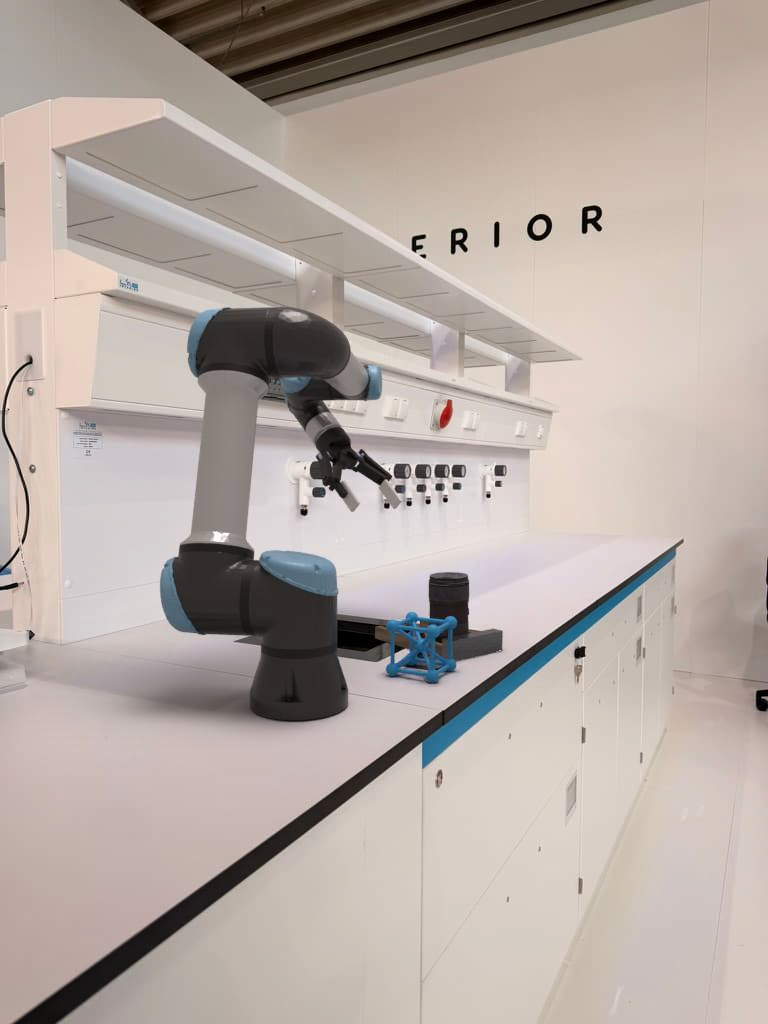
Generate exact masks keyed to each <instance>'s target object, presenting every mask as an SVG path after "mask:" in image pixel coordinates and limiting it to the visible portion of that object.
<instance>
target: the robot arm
mask: <svg viewBox="0 0 768 1024" xmlns="http://www.w3.org/2000/svg"><path fill="white" fill-rule="evenodd" d="M186 353H187V354H188V357H187V363H188V367H189V370H190V372H191V374H192V375H193V376H194V377H195V378H197V384H198V386H199V387H200V388H201V390H202V391H203V392H204V393H205V395H204V396H205V397H204V405H203V406H204V408H203V417H202V427H201V436H200V445H199V454H198V464H197V471H196V472H197V473H196V481H195V490H194V492H195V493H194V500H193V510H192V518H191V519H192V520H191V528H190V534H189V536H187V538H185V539H184V540H183V541H181V542H180V543H179V546H178V547H179V548H178V555H177V556H173V557H171V558H169V559H167V560H166V561H165V563H164V564H163V568H162V569H161V573H160V577H159V580H160V581H159V592H160V593H159V596H160V597H159V598H160V603H161V606H162V607H161V608H162V611H163V613H164V616H165V618H166V620H167V622H168V623H169V624H170V626H171V627H172V628H173V629H175V630H176V631H178V632H180V633H188V634H189V633H190V634H197V635H199V636H206V635H217V636H218V635H219V636H220V635H223V636H248V637H260V657H259V662H258V665H257V668H256V670H255V673H254V676H253V681H252V683H251V687H250V690H249V709H250V710H251V711H252V712H253V713H255V714H257V715H259V716H262V717H265V718H268V719H273V720H281V721H306V720H316V719H322V718H326V717H331V716H334V715H336V714H338V713H341V712H342V711H344V710H345V709H347V707H348V705H349V687H348V684H347V680H346V678H345V675H344V672H343V669H342V665H341V662H340V659H339V657H338V595H339V587H338V579H337V577H338V576H337V575H338V574H337V569H336V566H335V564H334V563H333V562H332V561H331V560H330V559H327V558H326V557H323V556H320V555H317V554H313V553H308V552H302V551H294V550H293V551H292V550H277V549H273V550H265V551H263V552H261V554H260V557H258V558H259V559H255V549H254V548H253V547H252V545H251V543H249V542H248V541H247V530H248V519H249V509H250V500H251V499H250V497H251V485H252V474H253V465H254V464H253V462H254V454H255V453H254V452H255V442H256V441H255V440H256V432H257V431H256V428H257V421H258V420H257V418H258V408H259V400H261V399H262V398H263V397H265V396H266V395H267V394H268V392H269V387H270V380H271V379H272V380H273V379H275V380H276V379H277V380H278V379H279V382H280V386H281V389H282V390H283V392H284V395H285V396H284V399H283V400H284V402H285V404H286V406H287V408H288V411H289V412H290V413H291V414H292V415H293V417H294V418H295V419H296V421H298V424H299V425H300V426H301V427H302V429H303V430H304V432H305V433H306V435H307V436H308V438H309V439H310V441H311V442H312V443H313V445H314V446H315V449H316V450H317V453H316V455H315V459H316V460H317V463H318V464H319V469H320V476H321V477H320V478H321V483H322V485H323V487H325V488H326V487H328V490H329V491H331V492H334V490H335V492H336V494H337V496H338V497H340V499H342V501H343V502H344V504H345V505H346V506H347V509H348V510H349V511H350V513H355V511H356V509H358V507H359V506H360V505H361V502H360V501H359V499H358V497H357V495H355V494H354V492H353V490H352V488H351V487H350V485H348V483H347V482H346V481H345V480H342V473H343V471H345V470H351V471H353V472H355V473H359V474H361V475H363V476H364V477H365V478H367V479H368V480H370V481H372V482H373V483H375V484H376V485H378V489H379V491H380V492H381V493H382V495H383V496H384V499H386V501H387V502H388V503H389V505H390V506H391V507H392V509H393V510H396V509H397V508H398V507H399V506H400V504H401V503H402V501H403V499H402V498H401V496H399V494H398V492H397V491H396V490H395V488H394V487H393V484H391V482H390V481H391V480H392V479H393V475H392V474H391V473H390V472H388V471H387V470H386V469H385V468H383V467H382V466H381V465H380V464H379V463H378V462H376V461H375V460H374V459H373V458H372V457H371V456H370V455H368V453H367V452H366V451H365V449H362V448H360V449H359V450H358V451H355V450H354V449H353V448H352V447H351V446H352V443H351V442H352V441H351V437H350V436H349V435H348V434H347V432H346V431H345V429H344V428H342V425H341V423H340V422H339V421H338V420H337V418H336V417H335V416H334V414H333V413H332V412H331V410H330V409H329V408H328V406H327V404H326V403H325V402H324V401H334V402H335V401H364V402H367V401H376V400H377V401H378V400H379V399H380V398H381V396H382V392H383V374H382V369H381V367H380V366H378V365H370V364H366V365H363V364H362V362H361V361H360V360H359V359H358V357H357V356H356V355H355V354H354V353H353V352H352V350H351V344H350V342H349V339H348V338H347V335H346V334H345V333H344V332H343V331H342V329H340V328H339V327H338V326H337V325H336V324H334V323H333V322H331V321H329V320H328V319H326V318H324V317H322V316H320V315H318V314H316V313H313V312H311V311H308V310H306V309H301V308H299V307H292V306H277V307H276V306H275V307H274V306H273V307H271V306H269V307H268V306H267V307H237V308H232V307H229V306H227V307H226V306H224V307H223V306H222V307H220V308H212V309H206V310H204V311H202V312H201V313H200V314H198V315H196V317H195V319H194V320H193V322H192V324H191V326H190V329H189V332H188V336H187V343H186Z"/></svg>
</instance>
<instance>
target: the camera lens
mask: <svg viewBox="0 0 768 1024" xmlns="http://www.w3.org/2000/svg"><path fill="white" fill-rule="evenodd" d="M428 602H429V615H428V618H432V619H441V620H445V619H446V618H447V617H448V616H452V617H454V618H455V619H456V620H457V625H456V627H455V628H454V629H452V637H453V636H458V635H463V634H468V632H469V630H470V627H469V624H470V623H469V615H470V608H469V602H470V580H469V575H468V574H467V573H465V572H456V571H455V572H453V571H443V572H441V571H440V572H435V573H430V575H429V579H428ZM433 624H434V625H437V626H440V625H442V624H440V623H432V622H429V625H433ZM443 638H448V628H447V629H445V630H444V631H443V632H442V633H440V634H439V636H438V637H436V638H435V642H438V643H442V639H443Z"/></svg>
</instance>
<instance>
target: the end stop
mask: <svg viewBox="0 0 768 1024" xmlns="http://www.w3.org/2000/svg"><path fill="white" fill-rule="evenodd" d="M503 635H504V634H503V630H502V629H497V628H489V629H485V630H479V631H476V632H473V633H468V634H463V635H458V636H453V637H452V659H454V660H455V661H456V662H459V661H463V659H464V660H468V659H472V657H473V658H476V656H477V657H481V656H485V654H486V655H488V654H489V653H490V654H493V653H492V652H494V653H497V652H496V651H499V650H502V651H503ZM499 652H500V651H499ZM442 657H443V658H444V659H448V638H443V639H442Z"/></svg>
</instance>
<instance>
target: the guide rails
mask: <svg viewBox="0 0 768 1024" xmlns="http://www.w3.org/2000/svg"><path fill="white" fill-rule="evenodd" d="M428 626H429V622H423V621H419V628H427V627H428ZM374 629H375V630H374V633H375V634H374V639H376V640H379V641H382V642H386V643H389V644H391V633H390V632H389V631H388V630H387V628H386V626H383V625H378V626H376V625H375V628H374ZM473 632H477V631H476V630H472V629H469V632H468V633H473ZM408 634H409V635H410V633H408ZM414 638H415V639H416V640H417V637H416V635H414ZM425 638H426V637H421V639H425ZM395 646H398V647H401V648H404V649H408V650H410V640H409V639H407V638H406V637H404V636H403V635H401V634H400V633H398V632H395ZM428 648H429V649H431V642H429V643H428ZM414 649H415V643H414ZM419 653H420V654H422V652H419ZM426 653H427V656H428V657H431V654H429V653H428V652H427V651H426ZM435 653H437V654H438V655H440V656H441V657H442V643H438V642H435Z"/></svg>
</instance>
